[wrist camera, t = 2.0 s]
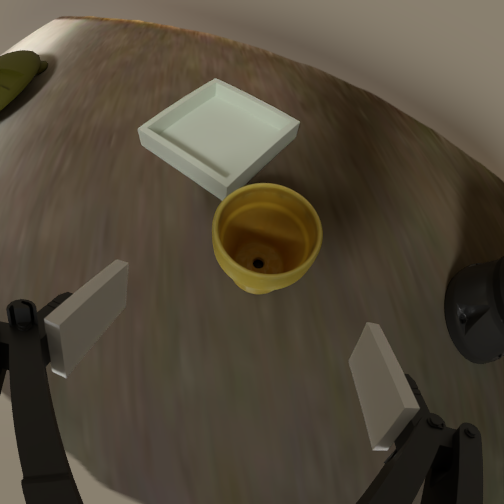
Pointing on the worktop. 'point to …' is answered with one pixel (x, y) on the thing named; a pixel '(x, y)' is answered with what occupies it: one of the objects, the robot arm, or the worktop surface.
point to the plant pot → (266, 236)
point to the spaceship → (17, 73)
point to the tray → (219, 136)
